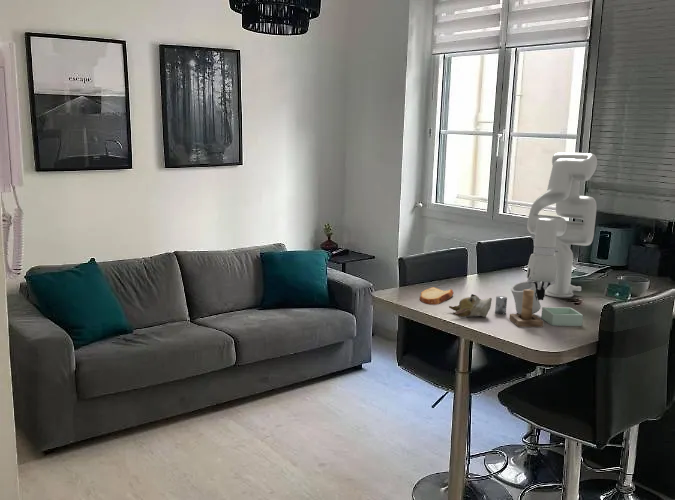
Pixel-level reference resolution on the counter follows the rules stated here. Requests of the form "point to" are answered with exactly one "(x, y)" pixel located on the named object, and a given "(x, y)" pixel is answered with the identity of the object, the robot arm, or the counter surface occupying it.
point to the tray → (562, 316)
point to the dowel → (527, 304)
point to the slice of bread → (435, 295)
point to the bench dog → (501, 305)
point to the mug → (518, 296)
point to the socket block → (526, 321)
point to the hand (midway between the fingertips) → (539, 299)
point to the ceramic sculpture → (472, 307)
